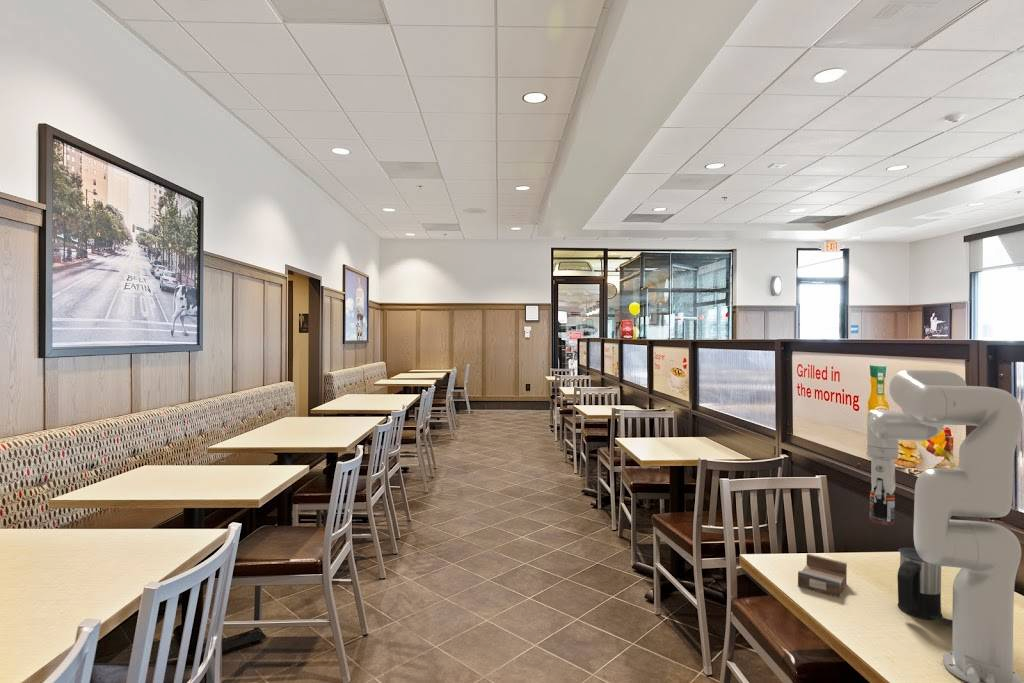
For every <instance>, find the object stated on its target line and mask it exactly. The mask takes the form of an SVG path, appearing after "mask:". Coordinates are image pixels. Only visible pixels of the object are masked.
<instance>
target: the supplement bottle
mask: <svg viewBox="0 0 1024 683" xmlns="http://www.w3.org/2000/svg"><path fill="white" fill-rule="evenodd" d="M882 492H884V493H885V491H882ZM882 496H883V497H884V495H882ZM874 497H875V492H873V491H872V489H871V490H870V493H869V520H870V521H871V522H873V523H874V524H877V525H881V526H893V525H894V524H895V506H896V504H895V501H896V498H895V497H896V495H895V493H894V492H893V494H891V495H889V493H887V497H886V504H887V518H882V517H876V516H874Z"/></svg>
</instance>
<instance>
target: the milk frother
mask: <svg viewBox="0 0 1024 683" xmlns="http://www.w3.org/2000/svg"><path fill="white" fill-rule="evenodd" d="M898 552H899V568H898V571H897V575H896V576H897V578H896V579H897V599H898V600H897V601H898V602H897V606H898V608H899V609H900V610H901V611H902V612H904V613H906V614H908V615H910V616H914V617H916V618H920V619H924V620H935V621H936V620H937V621H939V622H942V623H945V624H947V625H948V624H949V625H952V619H949V618H945V617H943V613H942V595H941V594H942V566H937V565H932V564H929V563H927V562H925V561H924V560H922V559H921V558H920V556H919V555H918V553H917V551H916V549H915V547H901V548H899V549H898Z"/></svg>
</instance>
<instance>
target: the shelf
mask: <svg viewBox="0 0 1024 683" xmlns="http://www.w3.org/2000/svg"><path fill="white" fill-rule="evenodd" d="M847 567H848V566H847V562H844V561H840V560H835V559H831V558H828V557H824V556H823V557H822V556H818V555H814V554H810V553H807V554H806V565H804V567H803V569H802V570H798V572H797V587H800V588H803V589H806V590H810V591H813V590H814V591H813V592H817V591H818V593H820V592H821V594H824V595H827V594H828V596H831V595H832V596H831V597H835V596H836V597H835V598H838V597H839V598H840V596H841V595H840V594H842V593H843V591H844V589H845V588H844V587H846V585H847V578H848V577H847V575H848V574H847Z"/></svg>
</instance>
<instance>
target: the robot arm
mask: <svg viewBox="0 0 1024 683" xmlns="http://www.w3.org/2000/svg"><path fill="white" fill-rule="evenodd" d="M888 388H889V390H888V391H889V394H890V397H891V399H892V400H893V402H894V403H895V404H896V405H897V406H898V407H899V408H900V409H901V411H902V412H896V411H894V410H891V409H879V408H878V409H870V410H869V411H868V412H867V416H866V419H867V420H866V422H867V424H866V427H867V428H866V429H867V430H866V449H867V450H866V456H867V457H868V458H870V459H871V463H870V465H871V470H870V471H871V474H870V475H871V480H870V481H871V482H870V483H871V490H872V491H873V492H875V497H874V516H876V517H882V518H887V504H886V497H887V493H889V495H891V494H893V493H894V492H895V490H896V465H895V463H896V462H895V461H896V460H899V441H901V440H902V441H919V442H921V441H928V440H930V439H932V438H934V437H936V436H938V435H939V434H940V433H941V432H942V431H943V430H944V427H945V425H947V426H973V427H974V426H976V428H975V429H973V430H972V431H971V432H970V433H969V434H967V436H966V437H965V438H964V440H963V441H962V442H961V444H960V445H959V451H958V464H957V467H956V468H943V467H941V468H939V467H937V468H928V469H925V470H923V471H921V473H920V474H918V477H917V478H916V480H915V486H914V496H913V497H914V504H913V505H914V506H913V508H914V509H913V542H914V543H913V545H914V548H915V549H916V551H917V553H918V555H919V556H920V558H921V559H922V560H924V561H925V562H927V563H929V564H932V565H937V566H941V567H947V568H948V567H949V568H959V571H958V572H957V574H956V576H954V577H955V578H954V580H953V583H952V619H951V620H952V624H951V626H952V629H951V630H952V632H951V633H952V637H951V639H952V641H951V643H952V645H951V651H949V652H946V653H944V654H943V655H942V663H943V666H944V667H945V669H946V670H947V671H949V672H950V673H951V674H952V675H954V676H955V677H957V679H961V680H962V681H964V682H966V683H1024V681H1023V678H1022V677H1021V676H1020V675H1019V674H1018V673H1017V672H1016V671H1015V670H1014V601H1015V599H1014V598H1015V584H1016V577H1017V572H1018V569H1019V566H1020V563H1021V558H1022V547H1021V546H1022V545H1021V543H1020V540H1019V539H1018V537H1017V536H1016V535H1015V533H1013V532H1012V531H1011V530H1010V529H1009V528H1006V527H1005V526H1002V525H1000V524H997V523H992V522H987V521H980V520H978V521H977V520H966V519H965V520H963V519H951V518H952V516H953V517H955V516H956V517H971V518H972V517H973V518H986V519H987V518H992V519H993V518H995V519H996V518H1002V517H1005V516H1007V515H1008V514H1009V513H1010V511H1011V509H1012V505H1013V494H1014V493H1013V492H1014V490H1013V489H1014V467H1015V466H1014V461H1015V460H1014V459H1015V452H1016V448H1017V445H1018V441H1019V438H1020V435H1021V433H1022V429H1023V421H1024V420H1023V411H1022V407H1021V404H1020V403H1019V400H1017V398H1016V397H1015V395H1013V394H1012V393H1010V392H1009V391H1007V390H1005V389H1001V388H996V387H990V386H976V385H967V383H966V381H965V379H964V378H963V377H962V376H960V375H959V374H958V373H955V372H952V371H949V370H941V369H940V370H938V369H937V370H935V369H933V370H931V369H927V370H926V369H904V370H901V371H899V372H896V373H895V374H894V376H893V377H892V378H891V380H890V382H889V387H888ZM882 491H885V493H884V492H882ZM882 495H884V497H883V496H882Z"/></svg>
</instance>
